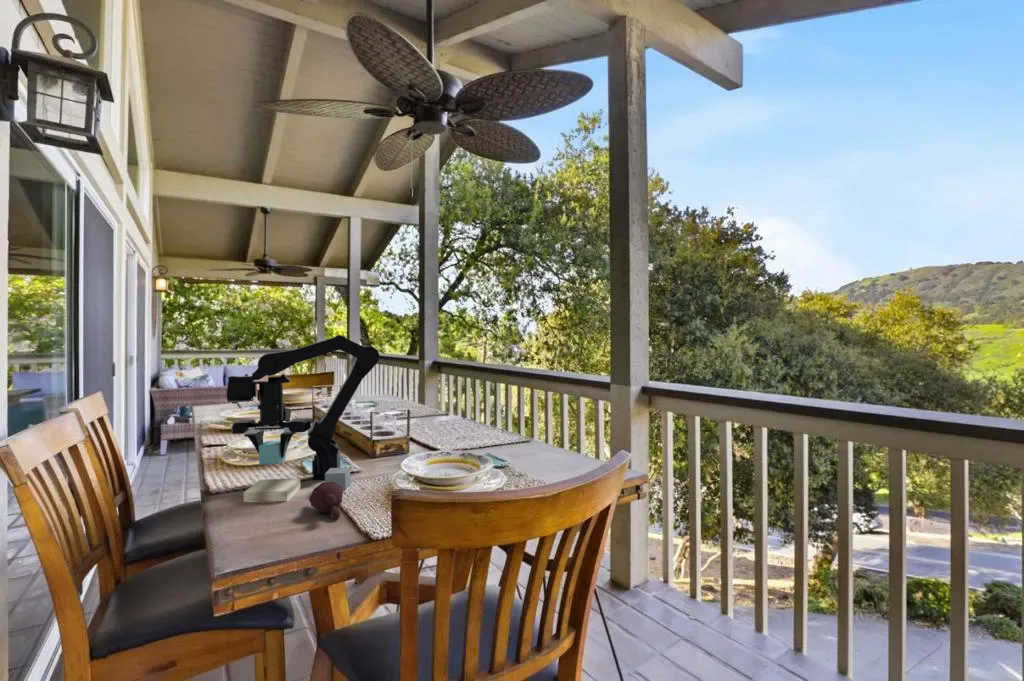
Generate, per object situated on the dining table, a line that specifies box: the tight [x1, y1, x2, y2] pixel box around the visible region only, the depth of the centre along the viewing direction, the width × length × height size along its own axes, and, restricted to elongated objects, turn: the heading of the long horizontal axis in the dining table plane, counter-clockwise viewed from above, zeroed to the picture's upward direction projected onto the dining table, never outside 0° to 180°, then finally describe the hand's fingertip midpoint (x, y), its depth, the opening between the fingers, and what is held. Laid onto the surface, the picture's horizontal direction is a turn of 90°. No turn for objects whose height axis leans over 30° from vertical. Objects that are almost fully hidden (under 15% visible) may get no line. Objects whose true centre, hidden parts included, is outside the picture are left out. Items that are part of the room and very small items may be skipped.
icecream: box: [308, 481, 344, 520], centre depth 118 cm, size 7×7×15 cm
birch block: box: [243, 477, 301, 503], centre depth 129 cm, size 10×10×3 cm
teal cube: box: [258, 440, 287, 466], centre depth 139 cm, size 5×5×5 cm
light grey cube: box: [324, 467, 351, 491], centre depth 133 cm, size 5×5×5 cm
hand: (272, 457), depth 140 cm, fingers closed on teal cube, 5 cm apart
